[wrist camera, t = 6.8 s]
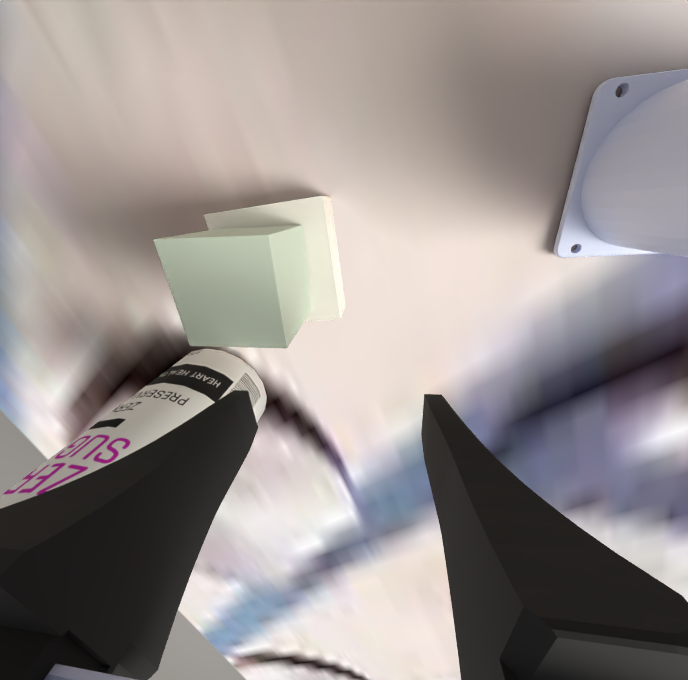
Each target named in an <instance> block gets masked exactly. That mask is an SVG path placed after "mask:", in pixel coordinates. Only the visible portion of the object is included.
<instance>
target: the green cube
mask: <svg viewBox="0 0 688 680" xmlns="http://www.w3.org/2000/svg"><path fill="white" fill-rule="evenodd" d="M153 240H154V243H155V246H156V249H157V252H158V255H159V258H160V261H161V264H162V266H163V269H164V272H165V275H166V278H167V281H168V284H169V287H170V290H171V293H172V295H173V298H174V301H175V304H176V307H177V310H178V313H179V316H180V319H181V322H182V324H183V327H184V330H185V333H186V336H187V339H188V342H189V345H190V346H214V347H257V348H287V347H288V345H289V344H290V342H291V341H292V339H293V338H294V336H295V335H296V333H297V332H298V330H299V329H300V327H301V326H302V324H303V323H304V321H305V320H306V318H307V317H308V315H309V314H310V312H311V311H312V309H311V299H310V290H309V281H308V271H307V262H306V252H305V243H304V234H303V225H293V226H269V227H244V228H220V229H213V230H207V231H201V232H195V233H189V234H182V235H176V236H170V237H164V238H158V239H153Z"/></svg>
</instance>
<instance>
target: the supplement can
mask: <svg viewBox="0 0 688 680" xmlns="http://www.w3.org/2000/svg"><path fill="white" fill-rule="evenodd" d="M234 390H248V392H249V396H250V400H251V403H252V407H253V411H254V414H255V418H256V422H258V420H259V419H260V417H261V415H262V414H263V412H264V410H265V405H266V399H267V396H266V393H265V389H264V385H263V383H262V381H261V380H260V378H259V377H258V375H257V374H256V372H255V371H254V370H253V369H252V368H251V367H250V366H249V365H248V364H246V363H245V362H244V361H243V360H242V359H240V358H238V357H236V356H234V355H231V354H229V353H227V352H225V351H221V350H213V349H201V350H197V351H192V352H190V353H189V354H188V355H186V356H185V357H184V358H182V359H181V360H180V361H178V362H177V363H176V364H174V365H173V366H172V367H170V368H169V369H168V370H166V371H165V372H164V373H162V374H161V375H160V376H158V377H157V378H156V379H154V380H153V381H152V382H151V383H149V384H148V385H147V386H145V387H144V388H143V389H141V390H140V391H139V392H137V393H136V394H135V395H133V396H132V397H131V398H129V399H128V400H127V401H125V402H124V403H123V404H121V405H120V406H119V407H117V408H116V409H115V410H113V411H112V412H111V413H109V414H108V415H107V416H106V417H104V418H103V419H102V420H100V421H99V422H98V423H96V424H95V425H94V426H92V427H91V428H90V429H88V430H87V431H86V432H84V433H83V434H82V435H80V436H79V437H78V438H76V439H75V440H74V441H72V442H71V443H70V444H68V445H67V446H66V447H64V448H63V449H62V450H61V451H59V452H58V453H57V454H55V455H54V456H53V457H51V458H50V459H49V460H47V461H46V462H45V463H43V464H42V465H41V466H39V467H38V468H37V469H35V470H34V471H33V472H31V473H30V474H29V475H27V476H26V477H25V478H23V479H22V480H21V481H19V482H18V483H17V484H16V485H15V486H13V487H12V488H10V489H9V490H8V491H6V492H5V493H4V494H2V495H1V496H0V509H1V508H4V507H6V506H9V505H12V504H15V503H18V502H20V501H23V500H26V499H29V498H31V497H34V496H37V495H39V494H42V493H44V492H47V491H49V490H52V489H54V488H57V487H59V486H62V485H64V484H66V483H69V482H71V481H74V480H76V479H78V478H81V477H83V476H85V475H87V474H89V473H92V472H94V471H96V470H98V469H100V468H102V467H104V466H106V465H109V464H111V463H113V462H115V461H117V460H119V459H121V458H123V457H125V456H127V455H129V454H131V453H133V452H135V451H137V450H138V449H140V448H142V447H144V446H146V445H148V444H149V443H151V442H153V441H155V440H156V439H158V438H160V437H162V436H163V435H165V434H166V433H168V432H170V431H171V430H173V429H175V428H176V427H178V426H179V425H181V424H183V423H184V422H186V421H187V420H189V419H190V418H192V417H194V416H195V415H197V414H198V413H200V412H201V411H203V410H204V409H206V408H207V407H209V406H210V405H212V404H213V403H215V402H216V401H218V400H219V399H221V398H222V397H224V396H226V395H227V394H229V393H231V392H232V391H234Z"/></svg>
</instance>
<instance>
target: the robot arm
mask: <svg viewBox="0 0 688 680" xmlns="http://www.w3.org/2000/svg"><path fill="white" fill-rule="evenodd" d="M618 86H620V87H621V88H622V94H621V96H620V97H617V96H616V95H615V94H616V89H617V87H618ZM575 244H576V245H577V248H576V250H575V251H573V252H571V248H572V246H573V245H575ZM553 252H554V254H555V255H556V256H557V257H561V258H570V257H593V256H615V255H638V254H660V253H662V254H668V255H674V256H680V257H686V258H688V68H687V69H679V70H671V71H663V72H655V73H648V74H640V75H632V76H624V77H616V78H611V79H608V80H607V81H605V82H603V83H602V84H600V85H599V86H598V87H597V89H596V90H595V92H594V94H593V97H592V101H591V105H590V109H589V112H588V116H587V120H586V124H585V128H584V132H583V136H582V140H581V144H580V147H579V151H578V155H577V159H576V163H575V167H574V171H573V175H572V179H571V183H570V186H569V190H568V194H567V198H566V202H565V206H564V210H563V214H562V218H561V221H560V225H559V229H558V233H557V237H556V241H555V245H554V249H553ZM257 429H258V425H257V422H256V418H255V414H254V411H253V407H252V403H251V400H250V396H249V392H248V390H234V391H232V392H231V393H229V394H227V395H226V396H224V397H222V398H221V399H219V400H218V401H216V402H215V403H213V404H212V405H210V406H209V407H207V408H206V409H204V410H203V411H201V412H200V413H198V414H197V415H195V416H194V417H192V418H190V419H189V420H187V421H186V422H184V423H183V424H181V425H179V426H178V427H176V428H175V429H173V430H171V431H170V432H168V433H166V434H165V435H163V436H162V437H160V438H158V439H156V440H155V441H153V442H151V443H149V444H148V445H146V446H144V447H142V448H140V449H138V450H137V451H135V452H133V453H131V454H129V455H127V456H125V457H123V458H121V459H119V460H117V461H115V462H113V463H111V464H109V465H106V466H104V467H102V468H100V469H98V470H96V471H94V472H92V473H89V474H87V475H85V476H83V477H81V478H78V479H76V480H74V481H71V482H69V483H66V484H64V485H62V486H59V487H57V488H54V489H52V490H49V491H47V492H44V493H42V494H39V495H37V496H34V497H31V498H29V499H26V500H23V501H20V502H18V503H15V504H12V505H9V506H6V507H4V508H1V509H0V680H148V679H149V678H150V677H151V676H152V675H153V674H154V673H155V672H156V671H157V670H158V667H159V664H160V661H161V658H162V655H163V652H164V649H165V645H166V643H167V640H168V636H169V634H170V631H171V628H172V625H173V622H174V619H175V616H176V612H177V610H178V607H179V605H180V602H181V599H182V596H183V594H184V591H185V588H186V586H187V583H188V580H189V577H190V575H191V572H192V570H193V567H194V565H195V562H196V560H197V557H198V555H199V552H200V550H201V547H202V545H203V542H204V540H205V537H206V535H207V533H208V530H209V528H210V526H211V524H212V521H213V519H214V517H215V514H216V512H217V510H218V508H219V506H220V504H221V502H222V500H223V499H224V497H225V495H226V493H227V491H228V489H229V488H230V486H231V484H232V482H233V480H234V478H235V476H236V475H237V473H238V471H239V469H240V467H241V465H242V464H243V462H244V460H245V458H246V456H247V454H248V452H249V450H250V448H251V445H252V443H253V440H254V437H255V435H256V432H257ZM421 435H422V443H423V452H424V460H425V464H426V468H427V473H428V477H429V481H430V485H431V490H432V494H433V498H434V502H435V506H436V511H437V515H438V519H439V524H440V529H441V534H442V539H443V546H444V553H445V560H446V566H447V573H448V580H449V588H450V595H451V602H452V609H453V617H454V625H455V632H456V640H457V648H458V656H459V664H460V672H461V680H688V602H687V601H686V600H685V599H684V597H683V596H682V595H680V594H679V593H677V592H675V591H674V590H672V589H671V588H669V587H668V586H666V585H665V584H663V583H662V582H660V581H658V580H657V579H655V578H654V577H652V576H651V575H649V574H648V573H646V572H645V571H643V570H641V569H640V568H638V567H637V566H635V565H634V564H632V563H631V562H629V561H628V560H626V559H624V558H623V557H621V556H620V555H618V554H617V553H615V552H614V551H612V550H611V549H609V548H608V547H607V546H605V545H604V544H602V543H601V542H600V541H598V540H597V539H595V538H594V537H592V536H591V535H590V534H588V533H587V532H585V531H584V530H583V529H581V528H580V527H578V526H577V525H576V524H574V523H573V522H572V521H570V520H569V519H568V518H566V517H565V516H564V515H562V514H561V513H560V512H559V511H557V510H556V509H555V508H553V507H552V506H551V505H550V504H548V503H547V502H546V501H545V500H543V499H542V498H541V497H539V496H538V495H537V494H536V493H534V492H533V491H532V490H531V489H530V488H528V487H527V486H526V485H525V484H524V483H523V482H521V481H520V480H519V479H518V478H517V477H516V476H515V475H514V474H513V473H511V472H510V471H509V470H508V469H507V468H506V467H505V466H504V465H503V464H502V463H501V462H500V461H499V460H498V459H497V458H496V457H495V456H494V455H493V454H492V453H491V452H490V451H489V450H488V449H487V448H486V447H485V446H484V445H483V444H482V443H481V442H480V441H479V440H478V438H477V437H476V436H475V435H474V434H473V433H472V432H471V430H470V429H469V428H468V427H467V426H466V425H465V424H464V422H463V421H462V420H461V419H460V418H459V416H458V415H457V414H456V413H455V411H454V410H453V409H452V408H451V406H450V405H449V404H448V402H447V401H446V400H445V398H444V397H443V396H442V395H433V394H424V408H423V421H422V434H421Z"/></svg>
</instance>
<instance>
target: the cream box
mask: <svg viewBox="0 0 688 680" xmlns="http://www.w3.org/2000/svg"><path fill="white" fill-rule="evenodd" d="M204 218H205V221H206V224H207V227H208V230H213V229H220V228H244V227H269V226H293V225H303V234H304V243H305V252H306V262H307V271H308V281H309V290H310V299H311V309H312V311H311V312H310V314H309V315H308V317H307V318H306V320H305V321H304V322H310V321H323V320H336V319H341V316H342V313H343V311H344V308H345V300H344V292H343V285H342V278H341V270H340V263H339V256H338V248H337V241H336V234H335V226H334V219H333V211H332V204H331V197H327V196H316V197H310V198H304V199H298V200H291V201H285V202H279V203H273V204H266V205H260V206H254V207H248V208H241V209H235V210H229V211H223V212H216V213H210V214H204Z"/></svg>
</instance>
